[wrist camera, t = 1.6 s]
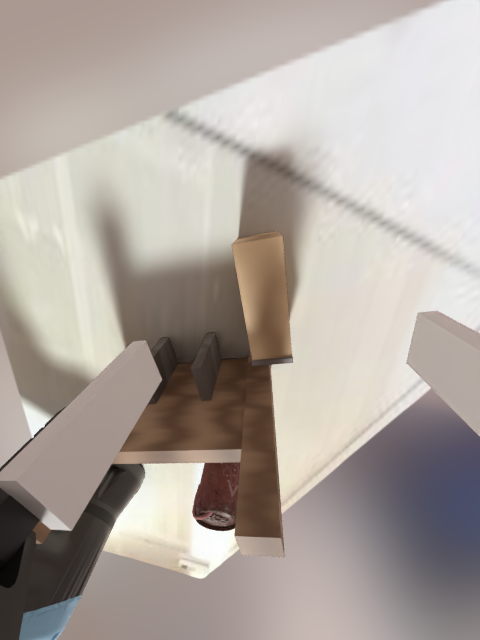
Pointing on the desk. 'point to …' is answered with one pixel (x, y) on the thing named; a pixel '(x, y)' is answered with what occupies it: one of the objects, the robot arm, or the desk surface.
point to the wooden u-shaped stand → (214, 434)
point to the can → (217, 496)
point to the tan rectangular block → (264, 296)
